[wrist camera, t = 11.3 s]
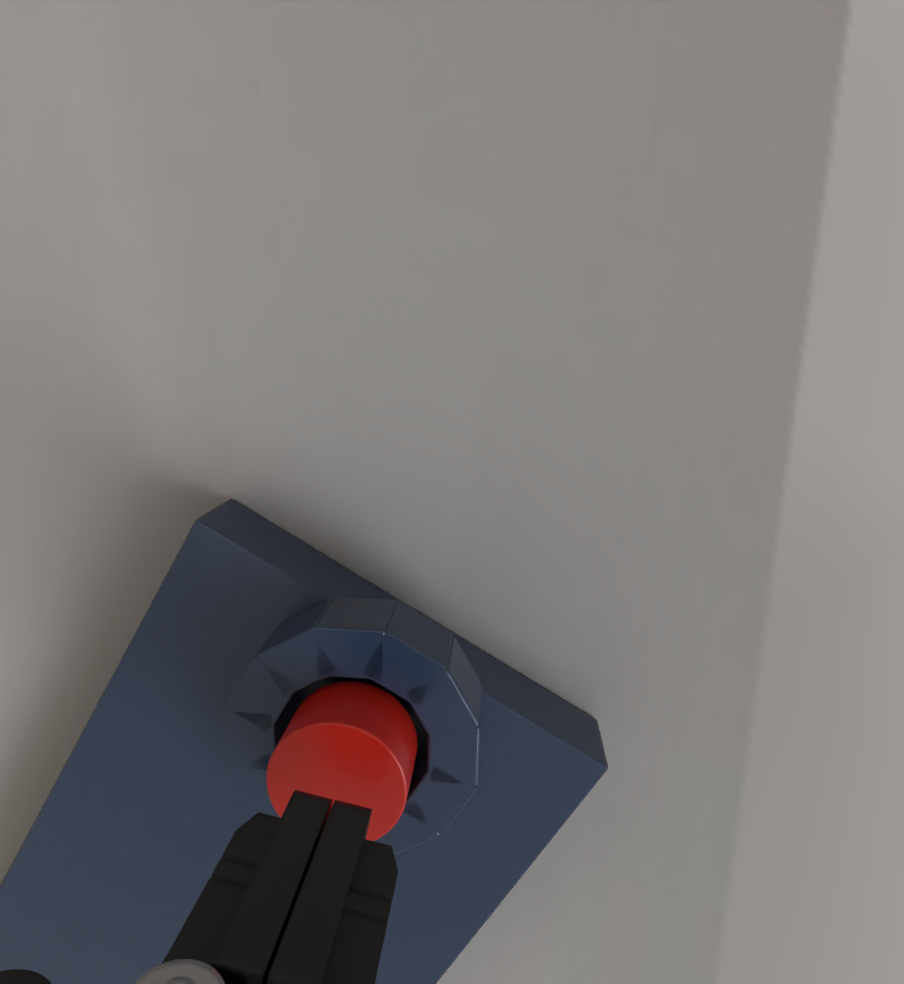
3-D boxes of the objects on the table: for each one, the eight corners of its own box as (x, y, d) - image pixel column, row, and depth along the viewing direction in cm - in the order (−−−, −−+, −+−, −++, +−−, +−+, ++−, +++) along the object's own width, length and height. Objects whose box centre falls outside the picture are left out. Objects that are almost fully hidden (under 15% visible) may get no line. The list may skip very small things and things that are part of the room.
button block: (247, 468, 18) (176, 505, 14) (617, 694, 19) (646, 788, 15) (-6, 933, 23) (-113, 1057, 19) (300, 1103, 23) (258, 1257, 19)
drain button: (329, 656, 15) (307, 697, 13) (442, 723, 15) (434, 772, 14) (269, 752, 16) (241, 802, 14) (377, 815, 16) (362, 872, 14)
